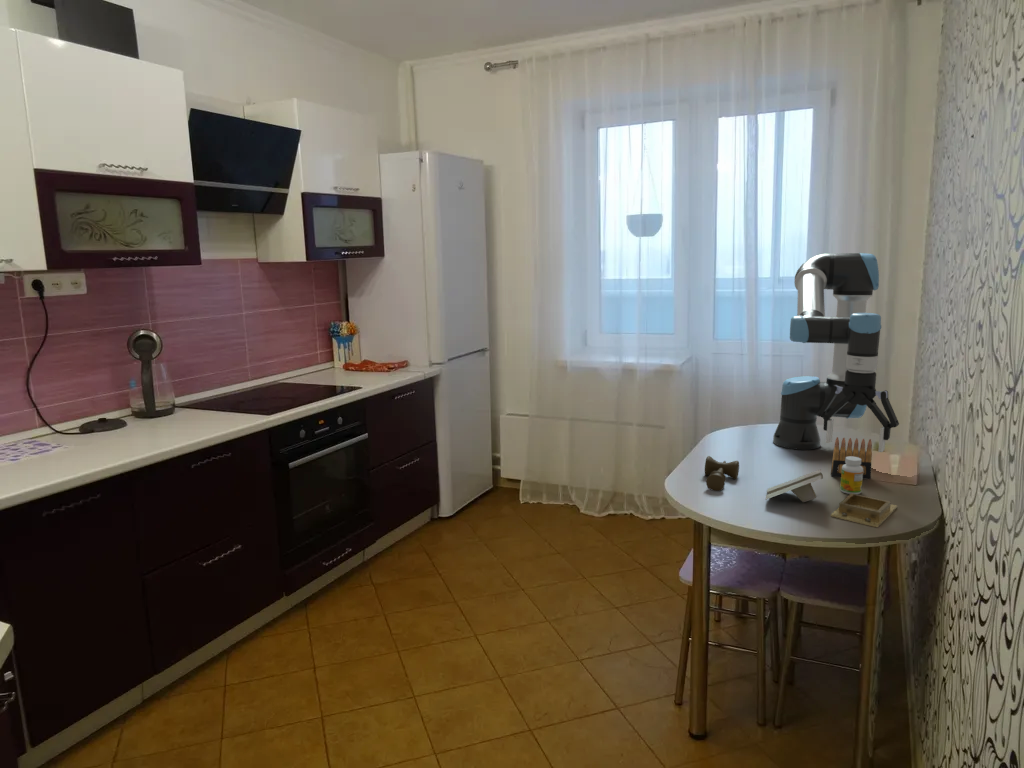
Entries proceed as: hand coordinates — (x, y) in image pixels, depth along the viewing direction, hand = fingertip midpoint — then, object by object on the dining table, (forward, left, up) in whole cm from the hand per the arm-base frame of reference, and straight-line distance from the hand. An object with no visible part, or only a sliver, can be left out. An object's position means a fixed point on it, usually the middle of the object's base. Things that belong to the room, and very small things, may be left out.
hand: (854, 446), depth 191 cm
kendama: (+14, -32, -14) cm, 38 cm away
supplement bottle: (0, 0, -13) cm, 13 cm away
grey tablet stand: (+17, -10, -14) cm, 24 cm away
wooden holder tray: (+13, +7, -13) cm, 20 cm away
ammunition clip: (-13, -4, -13) cm, 19 cm away
